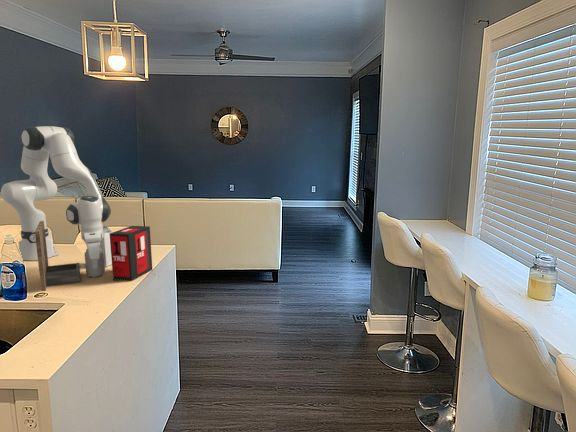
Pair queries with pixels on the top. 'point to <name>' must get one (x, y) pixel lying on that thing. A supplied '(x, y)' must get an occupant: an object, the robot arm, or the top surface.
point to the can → (89, 265)
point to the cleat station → (53, 273)
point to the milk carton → (106, 246)
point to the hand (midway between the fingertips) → (95, 265)
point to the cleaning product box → (131, 252)
